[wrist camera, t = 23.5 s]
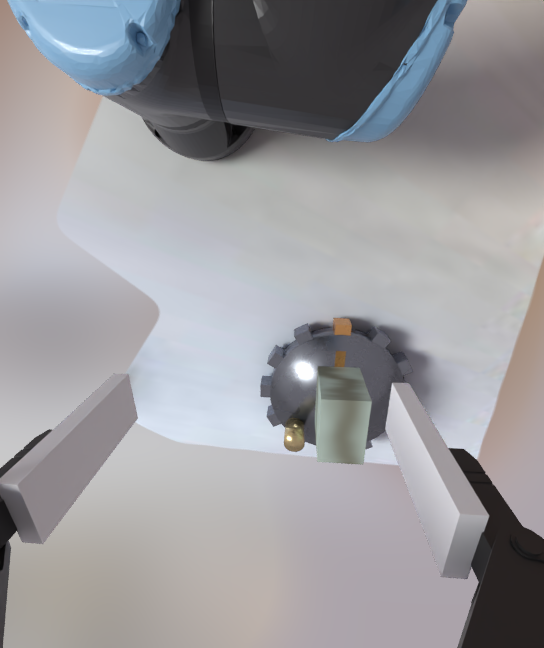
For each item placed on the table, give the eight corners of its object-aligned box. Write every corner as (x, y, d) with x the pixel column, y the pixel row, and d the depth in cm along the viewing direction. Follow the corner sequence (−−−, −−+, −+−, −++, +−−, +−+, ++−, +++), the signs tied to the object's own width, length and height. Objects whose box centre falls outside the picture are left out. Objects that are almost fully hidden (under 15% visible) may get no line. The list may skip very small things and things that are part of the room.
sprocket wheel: (325, 461, 55) (329, 496, 48) (234, 379, 50) (225, 405, 44) (438, 391, 48) (459, 420, 41) (344, 287, 43) (352, 302, 37)
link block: (314, 421, 48) (317, 461, 41) (317, 366, 44) (321, 399, 37) (353, 423, 48) (363, 464, 40) (359, 367, 44) (371, 401, 37)
